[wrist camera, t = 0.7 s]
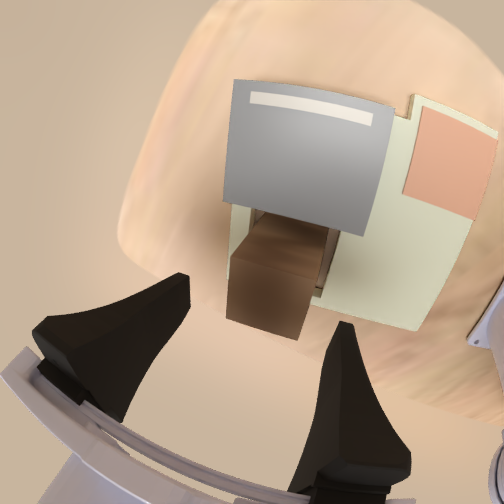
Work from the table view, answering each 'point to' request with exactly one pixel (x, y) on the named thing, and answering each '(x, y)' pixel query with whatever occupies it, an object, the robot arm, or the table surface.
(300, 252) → the walnut block
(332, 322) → the table surface
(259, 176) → the sliding cover
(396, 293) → the puzzle board
